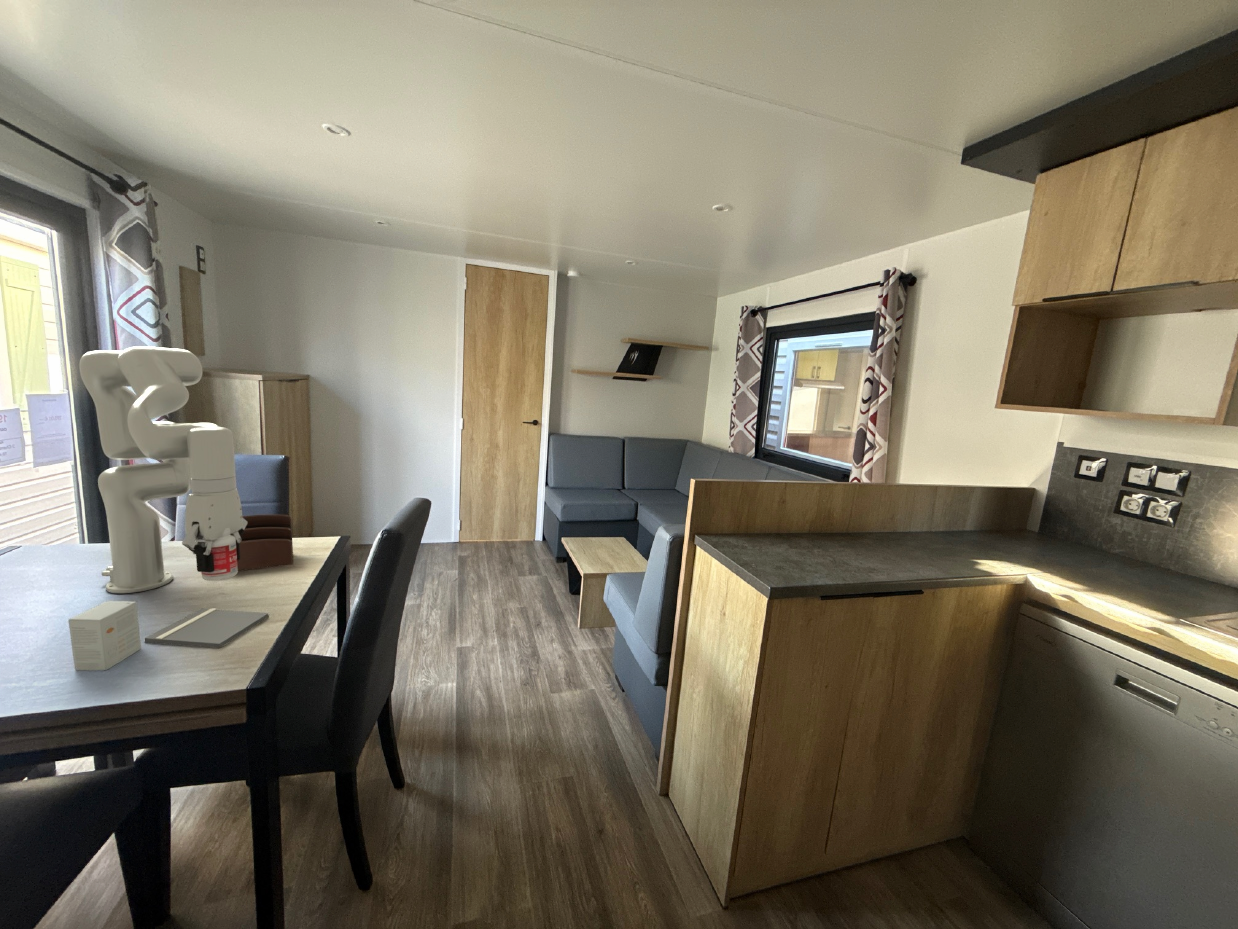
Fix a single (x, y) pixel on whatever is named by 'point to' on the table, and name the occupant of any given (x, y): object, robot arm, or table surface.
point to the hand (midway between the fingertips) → (219, 564)
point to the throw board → (207, 628)
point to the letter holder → (266, 542)
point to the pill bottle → (223, 558)
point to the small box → (104, 635)
